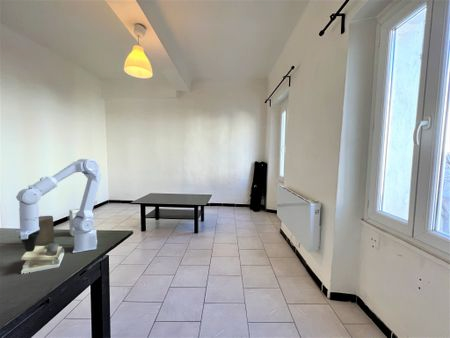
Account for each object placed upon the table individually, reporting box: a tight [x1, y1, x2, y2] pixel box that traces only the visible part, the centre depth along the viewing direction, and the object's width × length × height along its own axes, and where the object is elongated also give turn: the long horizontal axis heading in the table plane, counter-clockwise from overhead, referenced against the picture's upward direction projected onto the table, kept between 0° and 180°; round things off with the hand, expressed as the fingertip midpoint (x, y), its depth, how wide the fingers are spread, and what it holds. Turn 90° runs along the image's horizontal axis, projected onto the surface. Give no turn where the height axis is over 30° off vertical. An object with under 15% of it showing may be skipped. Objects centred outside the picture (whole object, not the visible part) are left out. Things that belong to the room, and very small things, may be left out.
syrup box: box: [68, 208, 80, 237], centre depth 124 cm, size 6×6×14 cm
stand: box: [20, 248, 65, 275], centre depth 91 cm, size 12×13×3 cm
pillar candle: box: [35, 215, 55, 246], centre depth 110 cm, size 10×10×15 cm
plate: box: [21, 242, 64, 261], centre depth 91 cm, size 11×12×5 cm
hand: (30, 250), depth 88 cm, fingers closed, pressing on plate
